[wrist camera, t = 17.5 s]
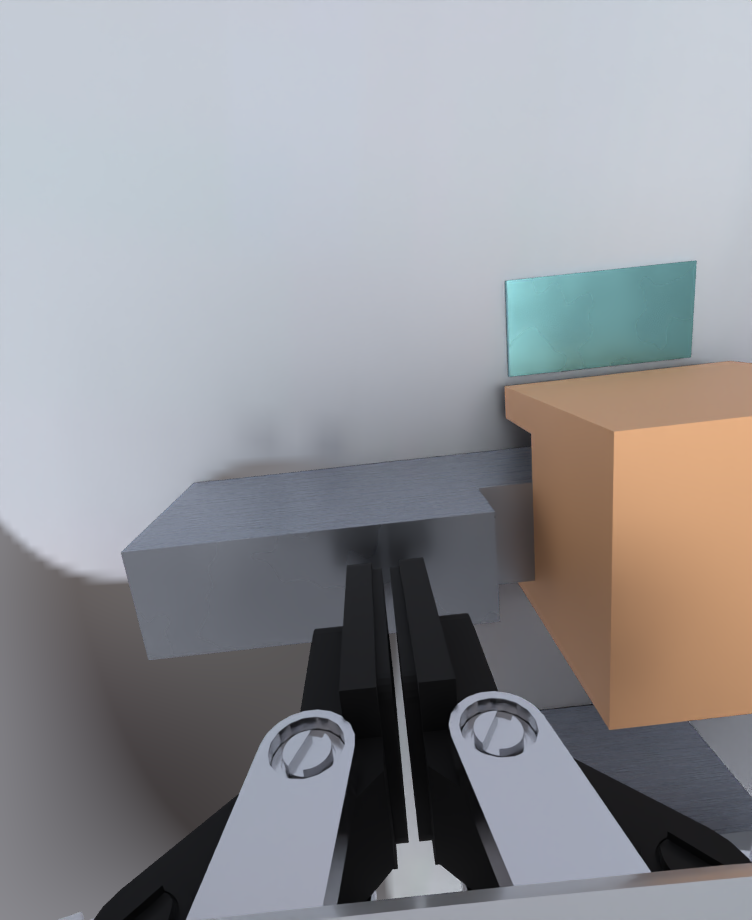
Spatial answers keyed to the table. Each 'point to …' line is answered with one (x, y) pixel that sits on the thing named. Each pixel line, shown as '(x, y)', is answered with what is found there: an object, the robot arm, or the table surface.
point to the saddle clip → (645, 536)
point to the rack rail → (391, 494)
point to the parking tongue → (661, 768)
